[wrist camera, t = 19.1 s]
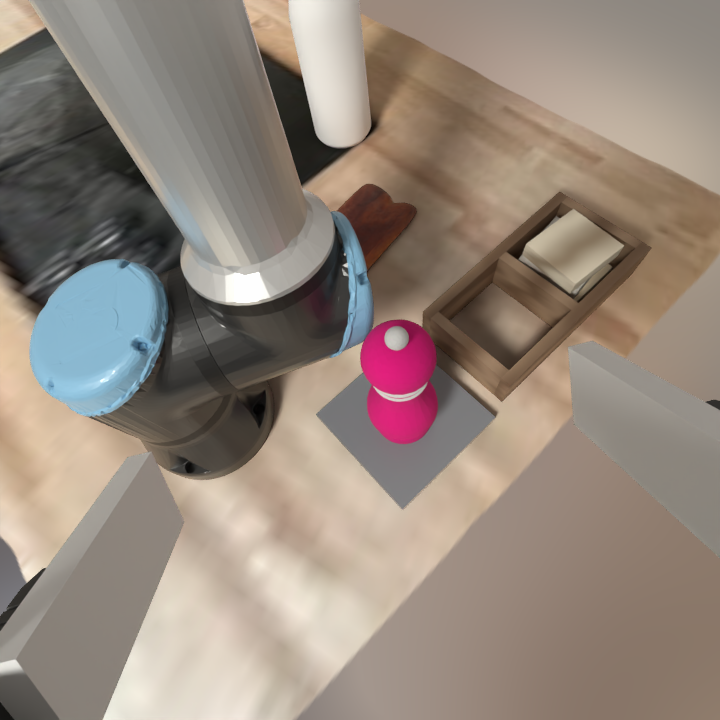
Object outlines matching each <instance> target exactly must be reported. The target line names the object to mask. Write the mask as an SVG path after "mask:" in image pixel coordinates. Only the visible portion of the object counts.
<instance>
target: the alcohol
mask: <svg viewBox="0 0 720 720" xmlns="http://www.w3.org/2000/svg"><path fill="white" fill-rule="evenodd" d="M289 19H290V24H291V28H292V32H293V37H294V41H295V45H296V50H297V54H298V58H299V63H300V67H301V71H302V76H303V80H304V84H305V89H306V93H307V97H308V102H309V106H310V110H311V115H312V119H313V123H314V128H315V132H316V135H317V137H318V138H319V139H320V140H321V141H322V142H323V143H324V144H325V145H327V146H329V147H332V148H336V149H344V148H350V147H353V146H355V145H357V144H359V143H360V142H361V141H363V140H364V138H365V137H366V136H367V134H368V132H369V130H370V128H371V115H370V105H369V95H368V85H367V75H366V65H365V55H364V45H363V35H362V25H361V15H360V6H359V0H289Z"/></svg>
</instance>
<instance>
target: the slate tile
mask: <svg viewBox="0 0 720 720" xmlns="http://www.w3.org/2000/svg"><path fill="white" fill-rule="evenodd" d="M429 381H430V382H431V384H432V385H433V387H434V389H435V391H436V395H437V400H438V411H437V415H436V418H435V420H434V422H433V424H432V425H431V427H430V428H429V430H428V431H427V433H426V434H425V435H424V436H423V437H422V438H421V439H419V440H418V441H416V442H413V443H409V444H397V443H394V442H391V441H389V440H388V439H386V438H385V437H384V436H383V435H382V434H381V433H380V432H379V431H378V430H377V429H376V427H375V426H374V425H373V424H372V422H371V420H370V418H369V415H368V411H367V396H368V393H369V390H370V388H371V386H372V385H371V383H370V382H369V381H368V380H367V378H366V376H365V374H364V372H363V373H362V374H361V375H360V376H359V377H358V378H357V379H355V380H354V381H353V382H352V383H351V384H350V385H349V386H348V387H346V388H345V389H344V390H343V391H342V392H341V393H340V394H338V395H337V396H336V397H335V398H334V399H333V400H332V401H331V402H329V403H328V404H327V405H326V406H325V407H324V408H323V409H321V410H320V411H319V412H318V413H317V414H316V415H317V417H318V418H319V419H320V420H321V421H322V422H323V423H324V425H325V426H326V427H327V428H328V429H329V430H330V431H331V432H332V433H333V434H334V436H335V437H336V438H337V439H338V440H339V441H340V442H341V443H342V444H343V445H344V446H345V448H346V449H347V450H348V451H349V452H350V453H351V454H352V455H353V456H354V457H355V459H356V460H357V461H358V462H359V463H360V464H361V465H362V466H363V467H364V468H365V470H366V471H367V472H368V473H369V474H370V475H371V476H372V477H373V478H374V479H375V480H376V482H377V483H378V484H379V485H380V486H381V487H382V488H383V489H384V490H385V491H386V493H387V494H388V495H389V496H390V497H391V498H392V499H393V500H394V501H395V502H396V504H397V505H398V506H399V507H400V508H401V509H402V510H404V509H405V508H406V507H407V506H408V505H409V504H410V503H411V502H412V501H413V500H414V499H415V498H416V497H417V496H418V495H419V494H420V493H421V492H422V491H423V490H424V489H425V488H426V487H427V486H428V485H429V484H430V483H431V482H432V481H433V480H434V479H435V478H436V477H437V476H438V475H439V474H440V473H441V472H442V471H443V470H444V469H445V468H446V467H447V466H448V465H449V464H450V463H451V462H452V461H453V460H454V459H455V458H456V457H457V456H458V455H459V454H460V453H461V452H462V451H463V450H464V449H465V448H466V447H467V446H468V445H469V444H470V443H471V442H472V441H473V440H474V439H475V438H476V437H477V436H478V435H479V434H480V433H481V432H482V431H483V430H484V429H485V428H487V427H488V426H489V425H490V424H491V423H492V422H493V421H494V419H495V416H494V415H493V414H491V413H490V412H489V411H488V410H487V409H486V408H485V407H484V406H482V405H481V404H480V403H479V402H478V401H477V400H476V399H475V398H473V397H472V396H471V395H470V394H469V393H468V392H467V391H466V390H464V389H463V388H462V387H461V386H460V385H459V384H458V383H457V382H456V381H454V380H453V379H452V378H451V377H450V376H449V375H448V374H447V373H445V372H444V371H443V370H442V369H441V368H440V367H439V366H438V365H436V366H435V369H434V372H433V375H432V376H431V378H430V379H429Z"/></svg>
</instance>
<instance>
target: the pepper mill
mask: <svg viewBox="0 0 720 720" xmlns="http://www.w3.org/2000/svg"><path fill="white" fill-rule="evenodd" d="M360 360H361V367H362V370H363V372H364V374H365V376H366V378H367V380H368V381H369V382H370V383H371V385H372V386H371V388H370V390H369V393H368V396H367V411H368V415H369V418H370V420H371V422H372V424H373V425H374V426H375V427H376V429H377V430H378V431H379V432H380V433H381V434H382V435H383V436H384V437H385V438H386V439H388V440H389V441H391V442H394V443H397V444H409V443H413V442H416V441H418V440H419V439H421V438H422V437H423V436H424V435H425V434H426V433H427V431H428V430H429V428H430V427H431V425H432V424H433V422H434V420H435V418H436V415H437V411H438V400H437V395H436V391H435V389H434V387H433V385H432V384H431V382H430V381H429V379H430V378H431V376H432V375H433V372H434V369H435V366H436V361H437V360H436V349H435V345H434V343H433V341H432V339H431V337H430V335H429V334H428V333H427V331H426V330H424V329H423V328H422V327H421V326H419V325H418V324H416V323H414V322H411V321H408V320H390V321H387V322H384V323H382V324H380V325H378V326H376V327H375V328H374V329H373V330H371V332H370V333H369V334H368V335H367V337H366V338H365V340H364V342H363V345H362V349H361V355H360Z"/></svg>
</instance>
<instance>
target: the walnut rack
mask: <svg viewBox="0 0 720 720" xmlns="http://www.w3.org/2000/svg"><path fill="white" fill-rule="evenodd" d="M572 209H575V210H576V211H577V212H579V213H580V214H581V215H583V216H584V217H586V218H587V219H588V220H590V221H591V222H592V223H594V224H595V225H597V226H598V227H599V228H601V229H602V230H603V231H605V232H606V233H608V234H609V235H610V236H612V237H613V238H614V239H616V240H617V241H619V242H620V243H621V244H623V245H624V247H623V249H622V250H621V252H620V253H619V255H618V256H617V257H616V258H615V259H614V260H612V261H611V262H610V263H609V265H611V266H612V269H611V270H612V271H611V272H610V273H609V274H608V275H607V276H606V277H605V278H604V279H603V280H602V281H601V282H600V283H599V284H598V285H597V286H596V287H595V288H594V289H593V290H592V291H591V292H590V293H589V294H588V295H586V296H585V297H584V298H583V299H582V300H581V301H580V302H579V303H578V302H576V301H575V300H573V299H572V298H571V297H569V296H568V295H566V294H565V293H564V292H562V291H561V290H559V289H558V288H556V287H555V286H554V285H552V284H551V283H549V282H548V281H547V280H545V279H544V278H542V277H541V276H540V275H538V274H537V273H535V272H534V271H532V270H531V269H530V268H528V267H527V266H525V265H524V264H523V263H521V262H520V261H518V259H519V258H520V256H521V255H522V254H523V251H524V248H525V245H526V244H527V243H528V242H529V241H531V240H532V239H533V238H535V237H536V236H537V235H539V234H540V233H541V232H543V230H544V229H545V228H546V227H547V226H548V225H549V224H550V223H551V221H552V220H553V219H554V218H555V217H556V216H557V217H559V218H562V217H563V216H564V215H566V214H567V213H568V212H570V211H571V210H572ZM650 249H651V247H650V246H648V245H646V244H645V243H643V242H641V241H640V240H638V239H636V238H635V237H633V236H632V235H630V234H628V233H627V232H625V231H623V230H622V229H620V228H618V227H617V226H615V225H614V224H612V223H610V222H609V221H607V220H605V219H604V218H602V217H600V216H599V215H597V214H596V213H594V212H592V211H591V210H589V209H587V208H586V207H584V206H582V205H581V204H579V203H578V202H576V201H574V200H573V199H571V198H569V197H568V196H566V195H564V194H563V193H561V192H559V193H558V194H557V195H555V196H554V197H553V198H552V199H551V200H550V201H549V202H547V203H546V204H545V205H544V206H543V207H542V208H541V209H539V210H538V211H537V212H536V213H535V214H534V215H533V216H532V217H530V218H529V219H528V220H527V221H526V222H525V223H524V224H522V225H521V226H520V227H519V228H518V229H517V230H516V231H514V232H513V233H512V234H511V235H510V236H509V237H508V238H506V239H505V240H504V241H503V242H502V243H501V244H500V245H498V246H497V247H496V248H495V249H494V250H493V251H492V252H490V253H489V254H488V255H487V256H486V257H485V258H484V259H483V260H481V261H480V262H479V263H478V264H477V265H476V266H475V267H473V268H472V269H471V270H470V271H469V272H468V273H467V274H465V275H464V276H463V277H462V278H461V279H460V280H459V281H457V282H456V283H455V284H454V285H453V286H452V287H451V288H449V289H448V290H447V291H446V292H445V293H444V294H443V295H442V296H440V297H439V298H438V299H437V300H436V301H435V302H434V303H432V304H431V305H430V306H429V307H428V308H427V309H426V310H424V311H423V327H422V328H423V329H424V330H426V331H427V333H428V334H429V335H430V337H431V339H432V341H433V342H434V343H435V344H436V345H437V346H438V347H440V348H441V349H442V350H443V351H444V352H445V353H446V354H448V355H449V356H450V357H451V358H452V359H453V360H455V361H456V362H457V363H458V364H459V365H460V366H461V367H463V368H464V369H465V370H466V371H467V372H468V373H469V374H471V375H472V376H473V377H474V378H475V379H476V380H478V381H479V382H480V383H481V384H482V385H483V386H484V387H486V388H487V389H488V390H489V391H490V392H491V393H492V394H494V395H495V396H496V397H497V398H498V399H499V400H501V401H503V400H504V399H505V398H506V397H507V396H508V395H509V394H510V393H511V392H512V391H513V390H514V389H515V388H516V387H517V386H518V385H520V384H521V383H522V382H523V381H524V380H525V379H526V378H527V377H528V376H529V375H530V374H531V373H532V372H533V371H534V370H535V369H536V368H537V367H538V366H539V365H540V364H541V363H542V362H543V361H544V360H545V359H546V358H547V357H548V356H549V355H550V354H551V353H552V352H553V351H554V350H555V349H556V348H557V347H558V346H559V345H560V344H561V343H562V342H563V341H564V340H565V339H566V338H567V337H568V336H569V335H570V334H571V333H572V332H573V331H574V330H575V329H577V328H578V327H579V326H580V325H581V324H582V323H583V322H584V321H585V320H586V319H587V318H588V317H589V316H590V315H591V314H592V313H593V312H594V311H595V310H596V309H597V308H598V307H599V306H600V305H601V304H602V303H603V302H604V301H605V300H606V299H607V298H608V297H609V296H610V295H611V294H612V293H613V292H614V291H615V290H616V289H617V288H618V287H619V286H620V285H621V284H622V283H623V282H624V281H625V280H626V279H627V278H628V277H629V276H630V275H631V274H632V273H633V272H634V271H635V269H636V268H637V267H638V265H639V264H640V263H641V261H642V260H643V259H644V257H645V256H646V255H647V253H648V252H649V251H650ZM492 282H493V283H494V284H495V285H497V286H498V287H499V288H501V289H502V290H503V291H505V292H506V293H507V294H509V295H510V296H511V297H513V298H514V299H515V300H517V301H518V302H519V303H521V304H522V305H523V306H525V307H526V308H527V309H529V310H530V311H531V312H533V313H534V314H535V315H537V316H538V317H539V318H541V319H542V320H543V321H545V322H546V323H547V324H549V325H550V326H551V327H553V328H552V329H551V330H550V331H549V332H548V333H547V334H546V335H545V336H544V337H543V338H542V339H541V340H540V341H539V342H538V343H537V344H536V345H535V346H534V347H533V348H532V349H531V350H530V351H529V352H527V353H526V354H525V355H524V356H523V357H522V358H521V359H520V360H519V361H518V362H517V363H516V364H515V365H514V366H513V367H512V368H511V369H510V370H508V369H507V368H506V367H504V366H503V365H502V364H501V363H500V362H498V361H497V360H496V359H495V358H494V357H492V356H491V355H490V354H489V353H488V352H486V351H485V350H484V349H483V348H482V347H480V346H479V345H478V344H477V343H476V342H474V341H473V340H472V339H471V338H470V337H468V336H467V335H466V334H465V333H464V332H462V331H461V330H460V329H459V328H457V327H456V326H455V325H454V324H453V323H451V322H450V320H451V319H452V318H453V317H454V316H455V315H456V314H458V313H459V312H460V311H461V310H462V309H463V308H464V307H465V306H466V305H468V304H469V303H470V302H471V301H472V300H473V299H474V298H475V297H476V296H478V295H479V294H480V293H481V292H482V291H483V290H484V289H485V288H486V287H488V286H489V285H490V284H491V283H492Z"/></svg>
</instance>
